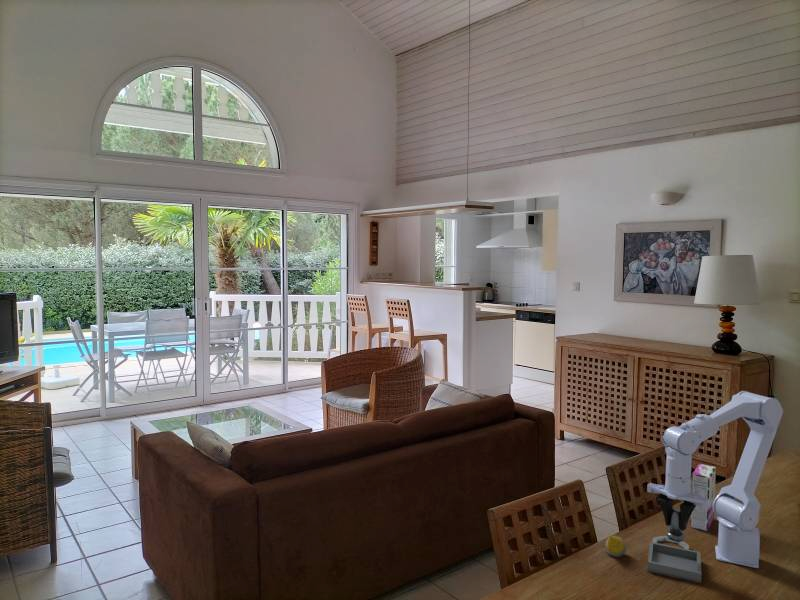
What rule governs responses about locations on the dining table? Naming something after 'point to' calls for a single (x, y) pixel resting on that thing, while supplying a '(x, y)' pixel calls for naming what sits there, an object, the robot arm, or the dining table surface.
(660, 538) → the seat ring
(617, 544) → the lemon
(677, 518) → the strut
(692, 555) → the tray
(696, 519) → the candy bar box
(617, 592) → the dining table surface
